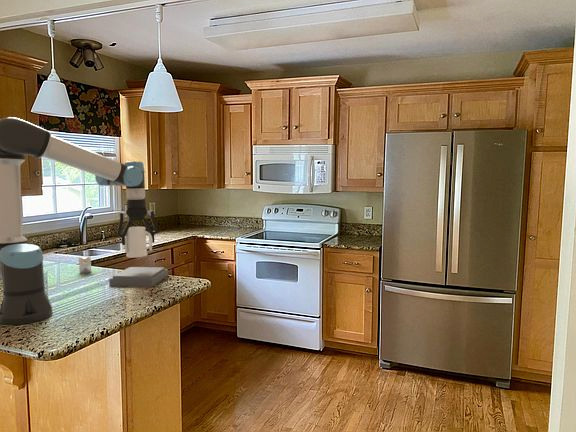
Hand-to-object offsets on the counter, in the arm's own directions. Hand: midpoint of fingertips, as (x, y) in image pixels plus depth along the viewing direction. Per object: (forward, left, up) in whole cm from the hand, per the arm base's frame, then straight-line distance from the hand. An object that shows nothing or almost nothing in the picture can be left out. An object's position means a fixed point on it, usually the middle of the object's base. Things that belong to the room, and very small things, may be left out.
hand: (138, 251), depth 189 cm
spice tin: (+13, +32, -13) cm, 37 cm away
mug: (0, 0, -2) cm, 2 cm away
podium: (0, 0, -13) cm, 13 cm away
